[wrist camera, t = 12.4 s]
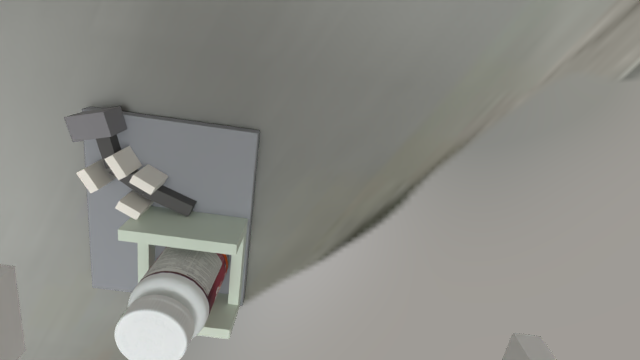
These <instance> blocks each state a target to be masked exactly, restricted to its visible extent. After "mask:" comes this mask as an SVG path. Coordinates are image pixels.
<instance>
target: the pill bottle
mask: <svg viewBox="0 0 640 360" xmlns="http://www.w3.org/2000/svg"><path fill="white" fill-rule="evenodd" d="M227 270H228V255H227V254H220V253H212V252H205V251H197V250H189V249H181V248H173V247H166V248H165V249H164V251H163V252H162V253H161V254H160V256H159V257H158V258H157V260H156V261H155V262H154V264H153V265H152V266H151V268H150V269H149V270H148V271H147V273H146V274H145V275H144V277H143V278H142V279H141V280H140V282H139V283H138V284H137V286H136V287H135V288H134V290H133V291H132V293H131V295H130V298H129V302H128V308H127V310H126V311H125V313H124V314H123V316H122V317H121V318H120V320H119V321H118V323H117V325H116V328H115V341H116V344H117V346H118V348H119V350H120V351H121V352H122V354H123V355H124V356H125V357H127V358H128V359H129V360H180V359H181V358H182V357H183V355H184V354H185V352H186V350H187V348H188V345H189V343H190V342H191V339H192V338H193V337H195V336H196V335H197V334H198V333H199V332H200V331H201V330H202V328H203V327H204V325H205V323H206V321H207V319H208V317H209V314H210V311H211V308H212V306H213V303H214V301H215V299H216V297H217V294H218V292H219V289H220V287H221V285H222V282H223V280H224V277H225V275H226V273H227Z"/></svg>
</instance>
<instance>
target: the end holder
mask: <svg viewBox="0 0 640 360" xmlns="http://www.w3.org/2000/svg"><path fill="white" fill-rule="evenodd" d="M247 224H248V219H247V218H239V217H231V216H224V215H216V214H209V213H201V212H193V211H192V212H191V214H190V215H189V216H188V217H186V216H184V215H182V214H179V213H177V212H175V211H173V210H171V209H169V208H163V207H156V206H151V207H150V208H149V209H148V210H147V211H145V212H144V213H143V214H142V215H141V216H140V217H139V218H138V219H137V220H135V219H133V218H130V219H129V220H128V221H126V222H125V223H124V224H123V225H122V226H121V227H120V228H119V229H118V240H119V241H126V242H134V243H137V244H138V283H139V282H140V280H141V279H142V278H143V277H144V275H145V274H146V273H147V271H148V270H149V269H150V268H151V266H152V265H153V264H154V262H155V245H158V246H165V247H173V248H181V249H189V250H197V251H205V252H212V253H220V254H228V255H231V268H230V281H229V294H223V293H218V294H217V297H216V299H215V301H214V303H213V306H212V308H211V311H210V314H209V317H208V319H207V321H206V323H205V325H204V327H203V328H202V330H201V331H200V332H199V333H198V334H197V335H199V336H208V337H215V338H224V339H230V335H231V332H232V329H233V325H234V323H235V319H236V316H237V313H238V310H239V307H240V302H241V291H242V280H243V269H244V257H245V246H246V235H247ZM126 310H127V309H126ZM126 310H125V311H126ZM124 313H125V312H124ZM124 313H123V314H124ZM123 314H122V316H123ZM122 316H121V317H122Z"/></svg>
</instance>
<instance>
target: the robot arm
mask: <svg viewBox="0 0 640 360" xmlns="http://www.w3.org/2000/svg"><path fill="white" fill-rule="evenodd" d="M25 351H26V349H25V341H24V334H23V326H22V318H21V311H20V303H19V296H18V288H17V281H16V273H15V266H9V265H1V264H0V360H17V359H18V358H19V357H20V356H21V355H22V354H23V353H24V352H25ZM502 360H557V359H556V357H555V356H554V355H553V353H552V352H551V350H550V349H549V348H548V346H547V345H546V344H545V342H544V341H543V339H542V338H541V337H540V336H535V335H527V334H520V333H512V336H511V338H510V341H509V344H508V346H507V349H506V351H505V354H504V356H503V359H502Z"/></svg>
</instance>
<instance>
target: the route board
mask: <svg viewBox="0 0 640 360" xmlns="http://www.w3.org/2000/svg"><path fill="white" fill-rule="evenodd" d="M64 119H65V121H66V124H67V127H68V130H69V133H70V136H71V138H72V141H73V142H77V141H84V152H85V168H84V169H82V170H80V171H79V172H77V173H76V174H77V175H78V176H79V178H80V179H81V181H82V182H83V183H84V185H85V186H86V188H87V203H88V220H89V237H90V254H91V271H92V287H93V288H101V289H109V290H117V291H125V292H132V291H133V290H134V288H135V287H136V286H137V284H138V244H137V243H134V242H126V241H119V240H118V229H119V228H120V227H121V226H122V225H123V224H124V223H125V222H126V221H128V220H129V219H130V218H133V219H135V220H137V219H138V218H139V217H140V216H141V215H142V214H143V213H144V212H145V211H147V210H148V209H149V208H150V207H151V206H156V207H163V208H169V209H171V210H173V211H175V212H177V213H179V214H182V215H184V216H186V217H188V216H189V215H190V214H191V212H192V211H193V212H201V213H209V214H216V215H224V216H231V217H239V218H247V219H248V224H247V235H246V246H245V257H244V269H243V280H242V291H241V302H240V306H242V305H243V302H244V297H245V287H246V276H247V265H248V254H249V243H250V233H251V222H252V211H253V200H254V189H255V178H256V168H257V157H258V146H259V135H260V130H253V129H246V128H238V127H231V126H224V125H217V124H210V123H203V122H196V121H189V120H182V119H174V118H167V117H160V116H153V115H146V114H139V113H132V112H125V111H122V109H121V106H118V107H111V108H104V109H103V108H96V107H87V108H83V109H82V112H80V113H77V114H74V115H70V116H67V117H64ZM165 248H166V247H165V246H158V245H155V261H156V260H157V258H158V257H159V256H160V254H161V253H162V252H163V251H164V249H165ZM227 255H228V254H227ZM230 268H231V255H228V270H227V273H226V275H225V277H224V280H223V282H222V285H221V287H220V289H219V292H218V293H223V294H229V281H230Z"/></svg>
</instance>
